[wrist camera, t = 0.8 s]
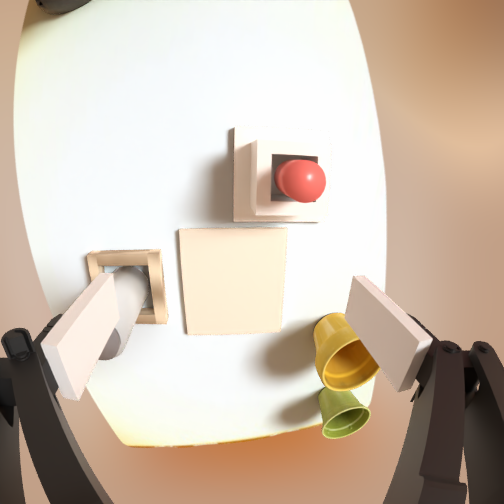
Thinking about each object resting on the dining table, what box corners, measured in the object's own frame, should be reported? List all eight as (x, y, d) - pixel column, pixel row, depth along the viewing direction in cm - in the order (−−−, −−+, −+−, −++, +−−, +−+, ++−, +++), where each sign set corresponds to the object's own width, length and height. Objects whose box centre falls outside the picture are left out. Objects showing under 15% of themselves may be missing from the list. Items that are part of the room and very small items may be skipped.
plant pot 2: (325, 372, 48) (341, 405, 39) (362, 378, 50) (380, 408, 42) (301, 405, 50) (312, 438, 42) (338, 409, 52) (351, 438, 44)
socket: (92, 250, 36) (86, 255, 34) (161, 249, 37) (158, 254, 35) (104, 315, 39) (100, 321, 37) (168, 316, 40) (166, 324, 38)
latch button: (274, 158, 29) (285, 158, 24) (310, 160, 30) (326, 161, 25) (273, 195, 30) (283, 202, 26) (309, 196, 31) (324, 203, 26)
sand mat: (179, 228, 36) (179, 230, 36) (286, 227, 38) (287, 228, 37) (188, 332, 42) (187, 335, 41) (279, 329, 43) (280, 331, 42)
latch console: (234, 127, 33) (237, 119, 26) (326, 132, 34) (348, 128, 28) (233, 220, 37) (236, 234, 30) (321, 220, 38) (342, 233, 32)
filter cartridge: (108, 265, 37) (65, 315, 24) (146, 265, 38) (115, 318, 24) (114, 302, 39) (80, 361, 26) (151, 303, 39) (128, 365, 26)
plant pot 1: (370, 325, 45) (397, 358, 36) (325, 362, 47) (344, 401, 38) (340, 289, 42) (368, 322, 33) (289, 332, 44) (305, 373, 34)
